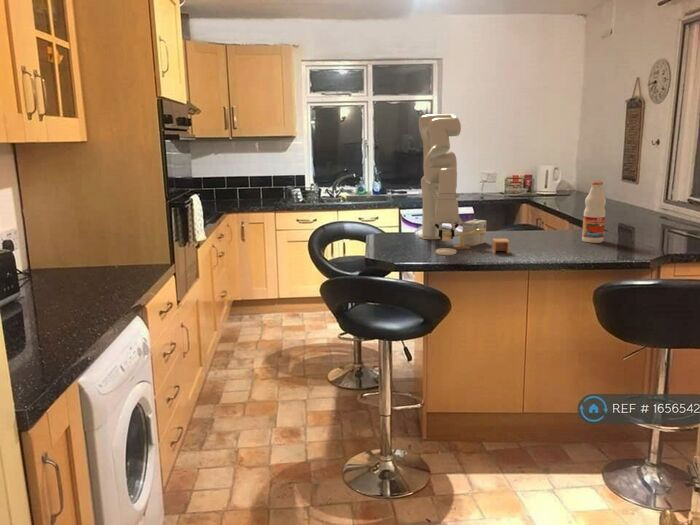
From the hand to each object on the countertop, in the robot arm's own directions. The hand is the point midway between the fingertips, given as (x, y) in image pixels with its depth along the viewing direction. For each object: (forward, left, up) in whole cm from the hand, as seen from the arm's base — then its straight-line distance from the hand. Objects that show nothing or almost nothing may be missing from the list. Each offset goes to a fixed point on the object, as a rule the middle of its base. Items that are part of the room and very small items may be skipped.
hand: (446, 238), depth 255 cm
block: (-1, 0, -1) cm, 1 cm away
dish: (0, 0, -7) cm, 7 cm away
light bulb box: (-21, +15, -7) cm, 27 cm away
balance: (-11, +8, -7) cm, 15 cm away
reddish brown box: (-2, +24, -7) cm, 25 cm away
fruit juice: (-25, +71, -7) cm, 76 cm away
